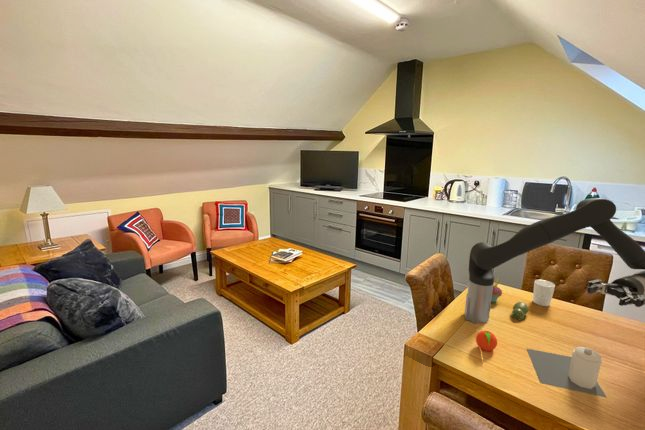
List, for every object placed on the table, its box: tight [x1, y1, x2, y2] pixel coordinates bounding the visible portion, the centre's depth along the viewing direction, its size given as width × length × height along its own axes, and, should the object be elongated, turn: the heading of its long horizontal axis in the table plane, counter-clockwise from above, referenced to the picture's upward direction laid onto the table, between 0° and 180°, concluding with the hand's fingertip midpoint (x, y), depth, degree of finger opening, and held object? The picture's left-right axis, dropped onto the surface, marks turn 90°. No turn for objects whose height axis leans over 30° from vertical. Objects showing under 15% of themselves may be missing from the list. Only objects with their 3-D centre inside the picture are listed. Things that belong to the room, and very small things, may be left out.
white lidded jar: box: [568, 346, 602, 389], centre depth 100 cm, size 6×6×11 cm
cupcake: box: [491, 277, 503, 303], centre depth 152 cm, size 9×8×12 cm
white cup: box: [532, 279, 556, 307], centre depth 149 cm, size 8×8×10 cm
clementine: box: [475, 330, 498, 352], centre depth 116 cm, size 8×7×7 cm
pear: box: [511, 301, 530, 321], centre depth 139 cm, size 6×5×10 cm
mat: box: [525, 348, 607, 398], centre depth 106 cm, size 17×18×1 cm
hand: (604, 296), depth 104 cm, fingers open, 8 cm apart
